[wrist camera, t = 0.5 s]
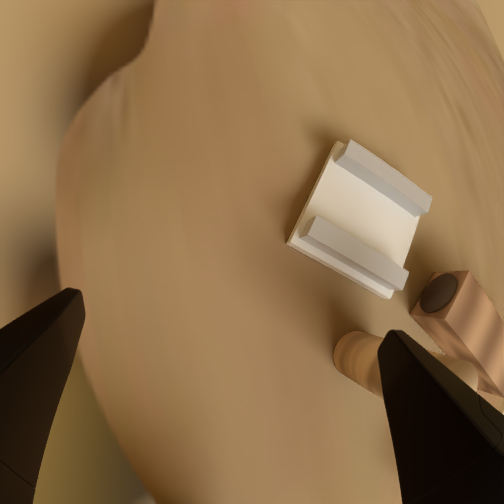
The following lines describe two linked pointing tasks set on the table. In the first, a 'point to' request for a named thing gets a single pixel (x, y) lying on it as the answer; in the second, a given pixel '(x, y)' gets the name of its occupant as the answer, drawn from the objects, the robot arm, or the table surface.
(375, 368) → the dowel
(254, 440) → the table surface
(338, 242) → the cradle
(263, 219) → the table surface
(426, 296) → the beam
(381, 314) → the table surface
